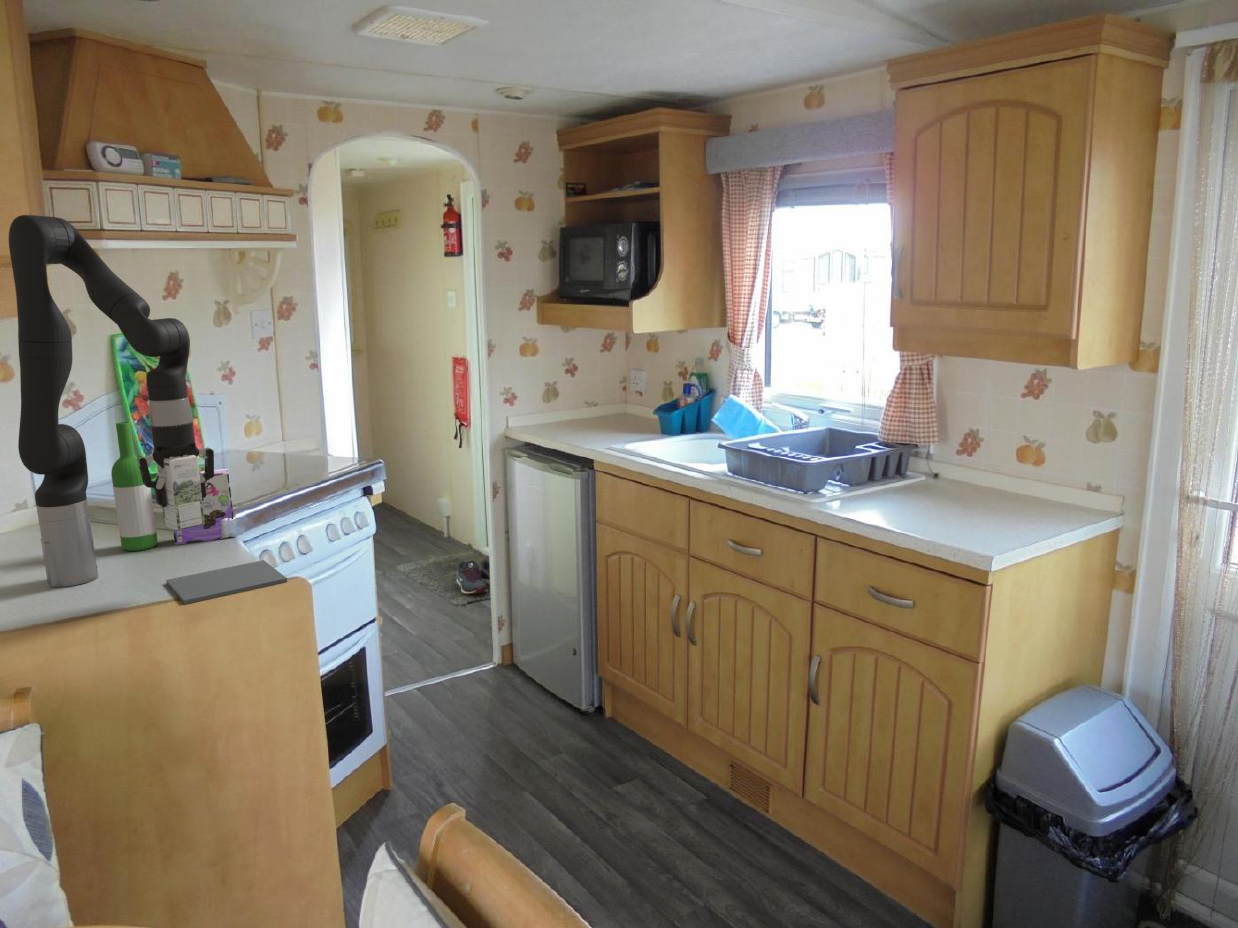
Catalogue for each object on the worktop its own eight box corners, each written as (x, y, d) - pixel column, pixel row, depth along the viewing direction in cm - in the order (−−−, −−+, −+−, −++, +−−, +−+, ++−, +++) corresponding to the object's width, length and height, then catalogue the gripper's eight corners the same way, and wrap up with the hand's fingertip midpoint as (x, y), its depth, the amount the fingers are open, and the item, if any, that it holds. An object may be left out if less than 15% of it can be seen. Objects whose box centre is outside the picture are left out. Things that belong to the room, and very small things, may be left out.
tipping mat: (184, 604, 184) (184, 600, 184) (166, 583, 197) (166, 579, 197) (287, 581, 196) (286, 578, 196) (264, 563, 208) (263, 560, 208)
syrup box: (191, 520, 194) (183, 451, 191) (206, 525, 190) (197, 454, 187) (164, 526, 189) (154, 456, 186) (178, 531, 186) (169, 459, 183)
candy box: (174, 545, 224) (165, 478, 220) (174, 539, 229) (166, 473, 225) (236, 537, 229) (228, 471, 226) (235, 531, 234) (228, 467, 231)
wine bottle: (116, 548, 223) (98, 423, 216) (149, 540, 229) (133, 418, 222) (130, 554, 218) (112, 426, 211) (164, 546, 224) (147, 421, 217)
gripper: (135, 428, 178) (147, 513, 182) (214, 419, 186) (224, 500, 190) (127, 423, 184) (139, 506, 187) (205, 414, 192) (215, 494, 196)
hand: (182, 503), depth 189 cm, fingers closed on syrup box, 6 cm apart
